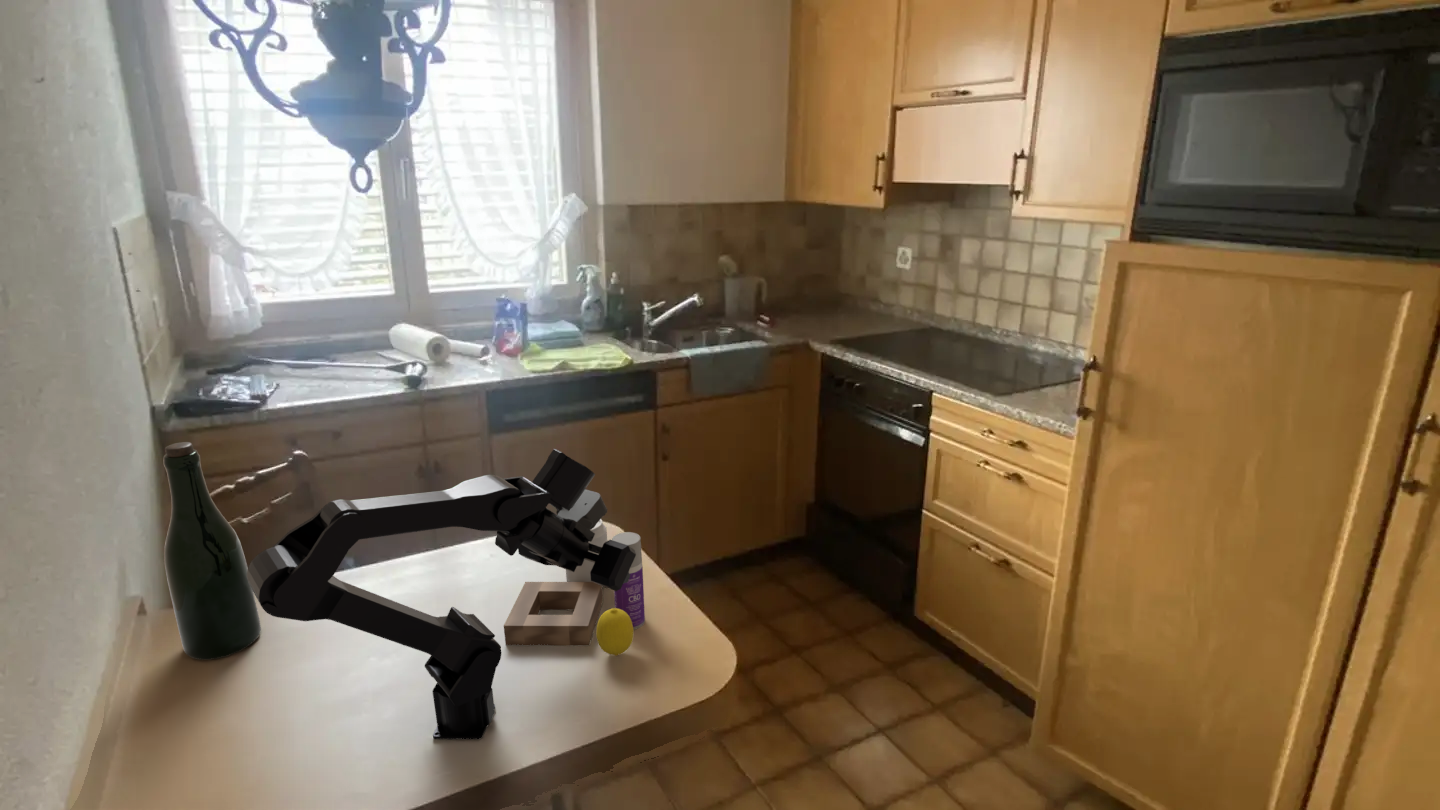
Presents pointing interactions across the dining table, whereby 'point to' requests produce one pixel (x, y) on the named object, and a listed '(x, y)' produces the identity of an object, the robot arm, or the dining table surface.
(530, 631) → the frame
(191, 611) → the beer bottle
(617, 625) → the lemon
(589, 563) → the can
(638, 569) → the container
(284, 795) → the dining table surface
